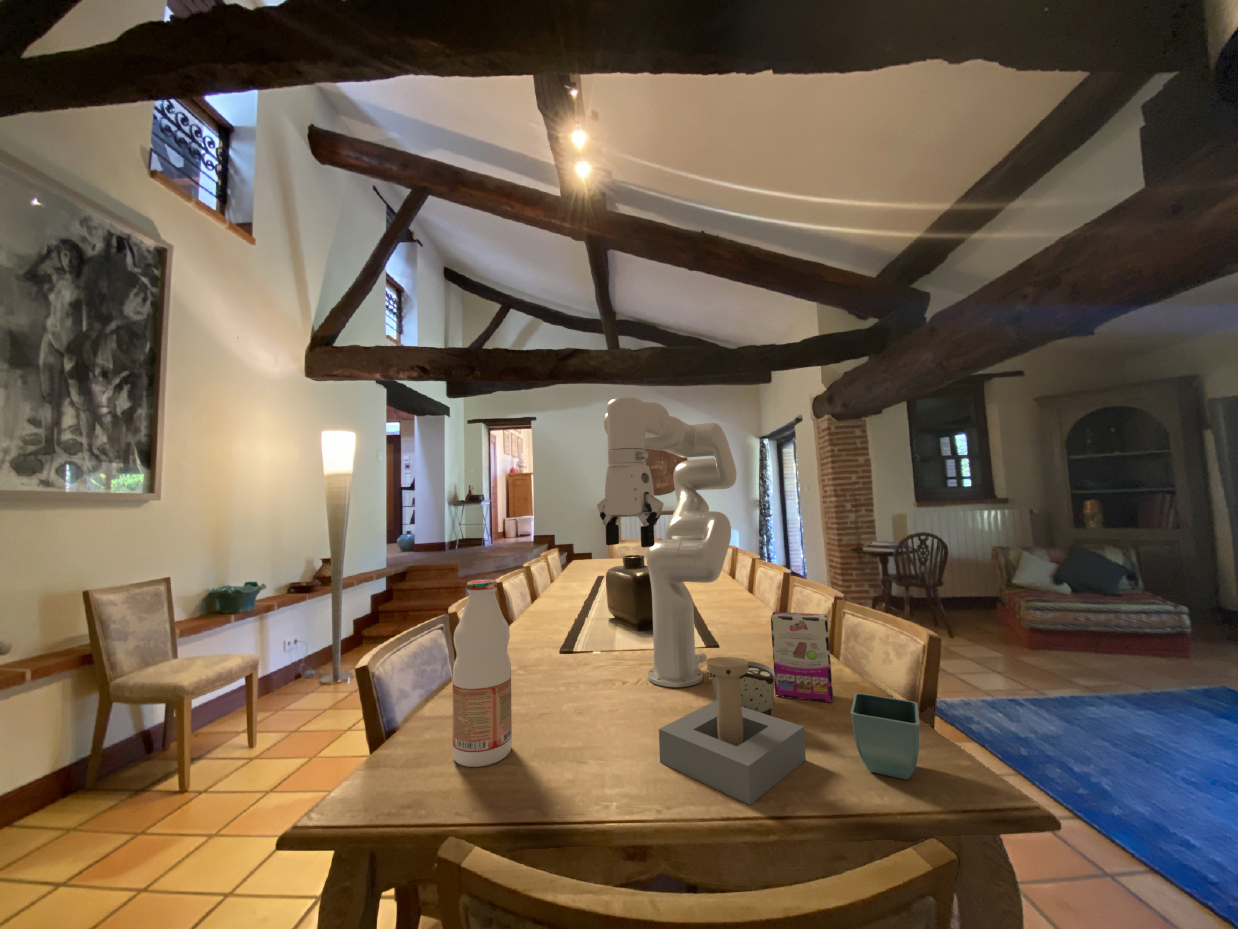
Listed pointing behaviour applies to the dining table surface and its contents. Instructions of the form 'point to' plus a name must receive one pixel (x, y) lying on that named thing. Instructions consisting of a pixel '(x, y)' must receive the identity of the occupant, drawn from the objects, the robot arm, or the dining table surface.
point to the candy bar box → (802, 656)
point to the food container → (755, 688)
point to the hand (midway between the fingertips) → (629, 545)
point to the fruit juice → (481, 680)
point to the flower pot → (886, 734)
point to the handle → (729, 697)
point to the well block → (733, 751)
